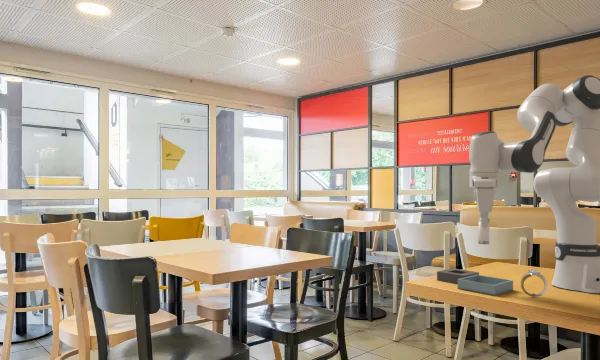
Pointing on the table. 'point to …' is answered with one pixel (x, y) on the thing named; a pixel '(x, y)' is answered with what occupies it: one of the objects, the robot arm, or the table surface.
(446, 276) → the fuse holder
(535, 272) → the ring
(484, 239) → the cylinder
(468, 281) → the tray
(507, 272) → the table surface
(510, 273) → the table surface
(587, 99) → the robot arm
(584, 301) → the table surface
